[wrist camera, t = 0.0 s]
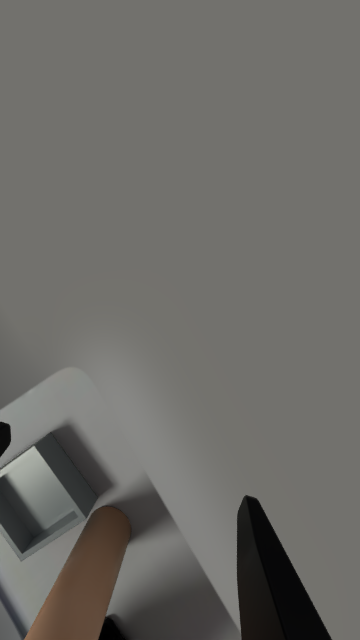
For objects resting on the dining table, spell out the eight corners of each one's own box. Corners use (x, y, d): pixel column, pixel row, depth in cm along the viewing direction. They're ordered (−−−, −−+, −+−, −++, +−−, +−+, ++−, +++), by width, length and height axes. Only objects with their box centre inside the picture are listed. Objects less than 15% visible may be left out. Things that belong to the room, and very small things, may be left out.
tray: (38, 537, 26) (21, 561, 24) (-7, 473, 26) (-29, 491, 24) (97, 498, 25) (86, 518, 23) (50, 432, 25) (34, 445, 23)
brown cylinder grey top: (105, 556, 26) (15, 789, 13) (79, 520, 26) (-34, 718, 13) (140, 535, 25) (80, 756, 13) (113, 498, 25) (28, 682, 13)
